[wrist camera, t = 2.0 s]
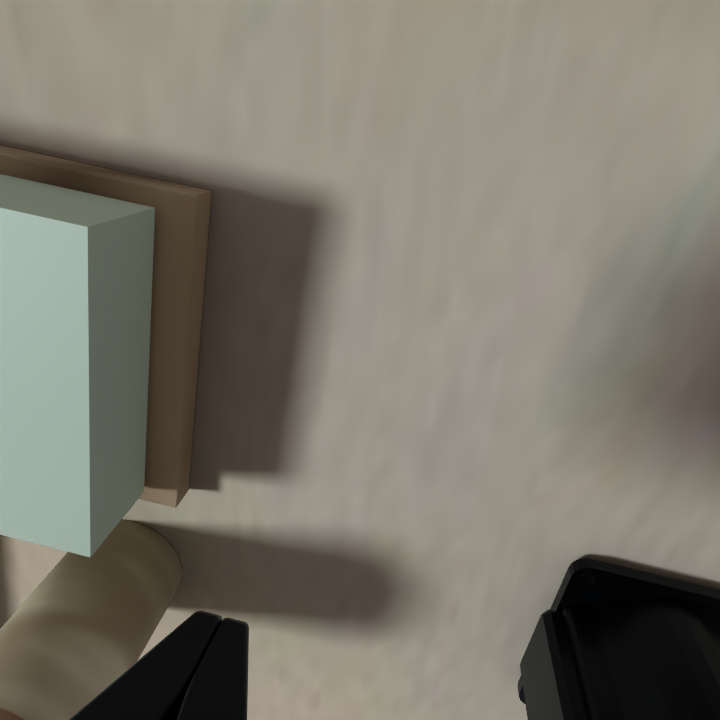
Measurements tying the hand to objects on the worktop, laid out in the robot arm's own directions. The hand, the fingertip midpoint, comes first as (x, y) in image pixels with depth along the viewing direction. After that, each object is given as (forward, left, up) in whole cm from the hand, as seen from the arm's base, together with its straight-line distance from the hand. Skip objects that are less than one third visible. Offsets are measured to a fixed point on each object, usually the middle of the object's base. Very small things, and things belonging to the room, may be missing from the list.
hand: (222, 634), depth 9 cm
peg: (+6, +9, -9) cm, 14 cm away
